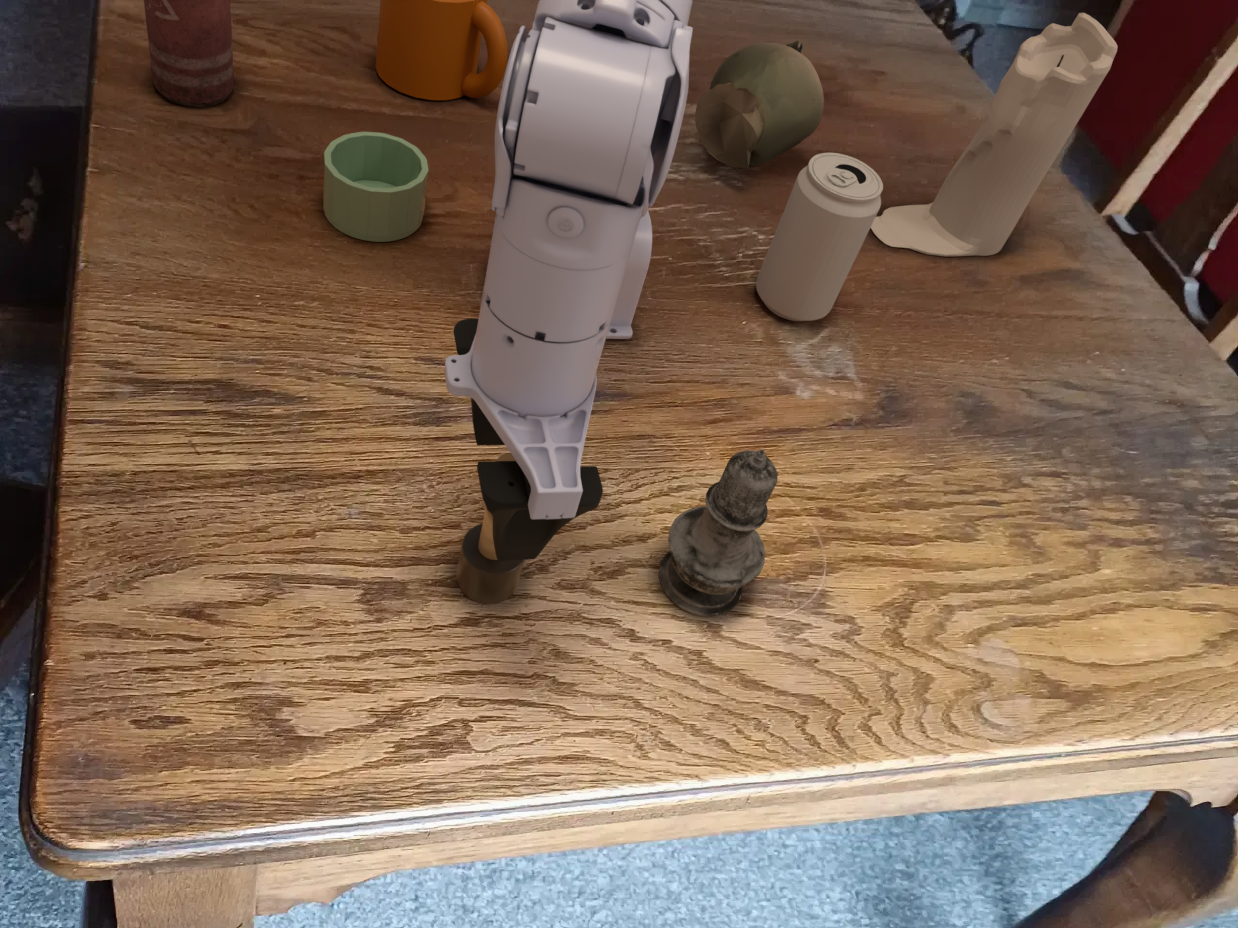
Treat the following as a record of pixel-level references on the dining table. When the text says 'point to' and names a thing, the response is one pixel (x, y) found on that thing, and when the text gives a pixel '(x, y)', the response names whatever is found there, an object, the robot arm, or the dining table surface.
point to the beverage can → (819, 236)
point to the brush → (486, 563)
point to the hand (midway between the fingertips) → (504, 495)
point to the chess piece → (720, 539)
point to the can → (191, 50)
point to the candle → (1009, 145)
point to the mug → (439, 48)
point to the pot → (374, 186)
